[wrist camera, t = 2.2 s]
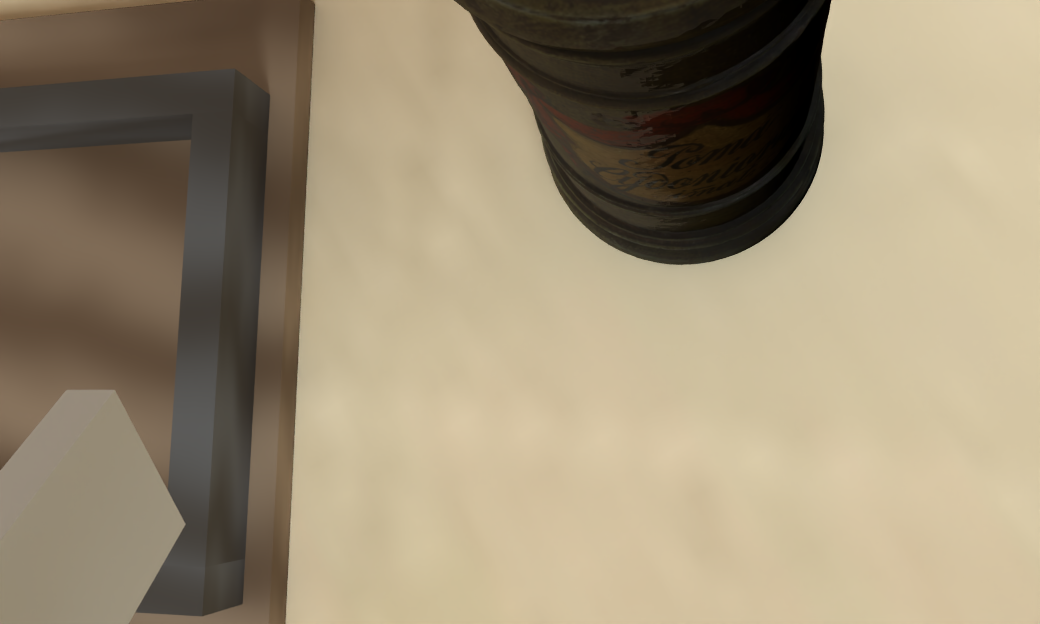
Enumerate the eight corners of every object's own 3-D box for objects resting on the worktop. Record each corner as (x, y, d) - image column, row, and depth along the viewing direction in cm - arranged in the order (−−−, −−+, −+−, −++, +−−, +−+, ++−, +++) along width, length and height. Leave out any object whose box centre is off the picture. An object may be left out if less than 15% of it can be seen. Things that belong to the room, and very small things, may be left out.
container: (513, 87, 34) (274, -296, 17) (748, -32, 33) (756, -584, 15) (615, 313, 32) (463, 148, 15) (869, 197, 31) (1038, -139, 13)
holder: (280, 721, 32) (223, 754, 29) (-191, 680, 37) (-291, 705, 33) (314, 4, 36) (268, -45, 33) (-117, 47, 41) (-200, 8, 37)
